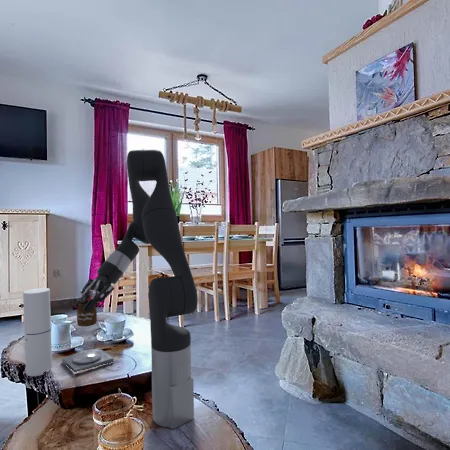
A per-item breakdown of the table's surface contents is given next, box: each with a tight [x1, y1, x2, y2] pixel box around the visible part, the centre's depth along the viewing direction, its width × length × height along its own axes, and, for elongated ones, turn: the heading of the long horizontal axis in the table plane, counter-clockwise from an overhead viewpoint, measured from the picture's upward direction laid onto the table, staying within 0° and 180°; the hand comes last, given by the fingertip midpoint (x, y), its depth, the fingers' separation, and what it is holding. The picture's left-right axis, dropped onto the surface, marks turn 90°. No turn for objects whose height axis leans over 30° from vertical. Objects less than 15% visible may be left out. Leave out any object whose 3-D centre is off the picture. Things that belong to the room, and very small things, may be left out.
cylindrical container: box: [22, 287, 53, 377], centre depth 103 cm, size 7×7×25 cm
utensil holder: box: [76, 288, 98, 328], centre depth 108 cm, size 6×6×12 cm
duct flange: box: [61, 346, 115, 372], centre depth 109 cm, size 12×12×3 cm
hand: (81, 309), depth 107 cm, fingers closed on utensil holder, 5 cm apart
